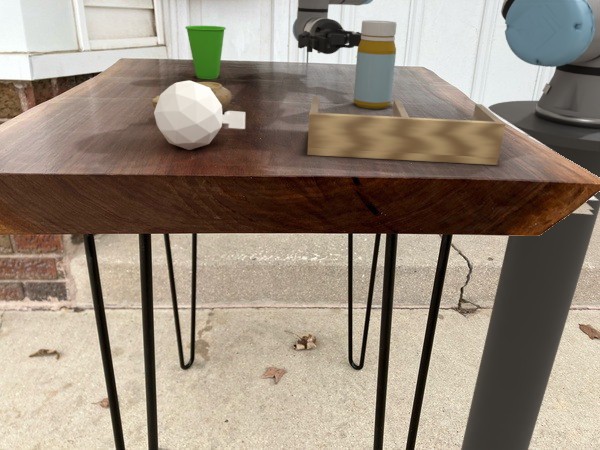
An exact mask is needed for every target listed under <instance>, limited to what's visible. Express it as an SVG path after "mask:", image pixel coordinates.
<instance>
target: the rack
mask: <svg viewBox="0 0 600 450" xmlns="http://www.w3.org/2000/svg"><path fill="white" fill-rule="evenodd" d="M320 100H321V96H319V95H317V96H316V95H314V96H312V99H311V103H310V110H309V113H308V130H307V132H308V133H307V153H306V155H307V156H320V157H336V158H337V157H339V158H359V159H374V160H375V159H376V160H377V159H378V160H394V161H396V160H397V161H414V162H415V161H416V162H432V163H434V162H435V163H449V164H450V163H452V164H471V165H489V166H498V162H499V157H500V154H501V148H502V143H503V138H504V132H505V129H506V123H505V122H504V121H503V120H502V119H500V118H499V116H497V115H496V114H495V113H493V112H492V111H491V110H490V109H489V108H488V107H486V106H485V105H484V104H482V103H481V104H480V103H475V104H474V110H473V116H472V120H468V119H447V118H430V117H426V118H425V117H410V116H409V114H408V112H407V110H406V109H405V106H404V105H403V103H402V100H397V99H394V100H393V101H392V102H393V103H392V113H391V116H388V115H370V114H369V115H368V114H351V113H350V114H349V113H347V114H346V113H330V112H329V113H328V112H320V102H321V101H320Z"/></svg>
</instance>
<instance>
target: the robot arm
mask: <svg viewBox="0 0 600 450" xmlns="http://www.w3.org/2000/svg"><path fill="white" fill-rule="evenodd" d="M297 1H298V2H297V11H296V19H295V20H294V22H293V25H292V35H293V37H294V39H295V40H296V41H297V48H298V49H303V48H304V49H305V48H306V53H313V51H316V53H317V54H323V55H332V54H335V53H336V52H338V51H339V50H340V49H343V48H344V49H345V48H346V49H352V48H354V47H357V48H358V46H359V44H360V41H361V35H362V34H361V32H360V31H353V30H345V29H344V28H343V26H342V24H340V23H339V22H338V20H335V19H331V18H329V17H328V16H329V8H330V7H329V6H330V5H339V6H340V5H341V6H343V5H345V6H363V5H369V4H371V3H372V2H373V1H374V0H297ZM501 5H502V6H501V10H500V14H501V16H502V18H503V20H504V24H505V27H506V28H505V30H504V36H505V40H506V43H507V46H508V47H509V50H511V52H512V53H513V54H514V55H515V56H516V57H517V58H518V59H519V60H521V61H523V62H525V63H527V64H529V65H534V66H540V67H546V68H548V67H550V68H555V70H554V73H553V75H552V77H551V79H550V80H549V82H546V83H545V85H544V87H543V89H542V91H541V92H542V94H541V96H540V97H539V99H538V100H537V101H538V103H537V105H536V110H535V115H536V116H537V117H539V118H541V119H543V120H546V121H549V122H553V123H557V124H562V125H567V126H573V127H580V128H590V129H600V0H503V2H502V4H501Z"/></svg>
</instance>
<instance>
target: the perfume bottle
mask: <svg viewBox="0 0 600 450" xmlns="http://www.w3.org/2000/svg"><path fill="white" fill-rule="evenodd" d="M159 96H160V97H159V100H158V103H157V105H156V108H154V112H153V114H154V120H155V123H156V126H157V128H158V129H159V131H160V133H161V134H162V136H163V137H164V138H165V139H166V141H167V142H168V144H171V145H174V146H177V147H179V148H182V149H184V150H188V151H191V150H194V149H197V148H200V147H204V146H207V145H210V143H211V142H212V141H213V140H214V138H215V137H216V136H217V134H218V133H219V132H220V130H221V128H222V126H223V129H224V130H230V131H231V130H233V131H242V130H243V131H244V130H246V111H239V110H238V111H237V110H227V111H224V114H223V109H222V105H221V103H220V102H219V101H218V99H217V98H216V96H215V95H214V93H213V92H212V90H211V89H210V88H209V87H207V86H204V85H201V84H198V83H197V82H195V81H192V80H190V79H189V80H183V81H179V82H178V81H177V82H175V83H173V84H171V85H170V86H168V87H167V88H166V89H165V90H164V91H162V93H160V95H159Z"/></svg>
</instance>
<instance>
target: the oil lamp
mask: <svg viewBox="0 0 600 450" xmlns="http://www.w3.org/2000/svg"><path fill="white" fill-rule="evenodd" d="M196 83H198V84H201V85H204V86H207V87H209V88H210V89H211V90H212V92H213V93H214V95H215V96H216V98H217V99H218V101H219V102H220V103H221V105H222V110H224V109H225V108H226V107H227V106H228V105H229V104H230V102H231V101H232V93H231V91H230V90H229V89H227V88H225V87H224V86H223V85H222V84H221V83H219V82H213V81H199V82H198V81H197V82H196ZM159 97H160V95H155V96H154V97H153V99H152V100H151V103H152V106H153V108H154V109H155V108H156V105H157V103H158V100H159Z"/></svg>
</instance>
